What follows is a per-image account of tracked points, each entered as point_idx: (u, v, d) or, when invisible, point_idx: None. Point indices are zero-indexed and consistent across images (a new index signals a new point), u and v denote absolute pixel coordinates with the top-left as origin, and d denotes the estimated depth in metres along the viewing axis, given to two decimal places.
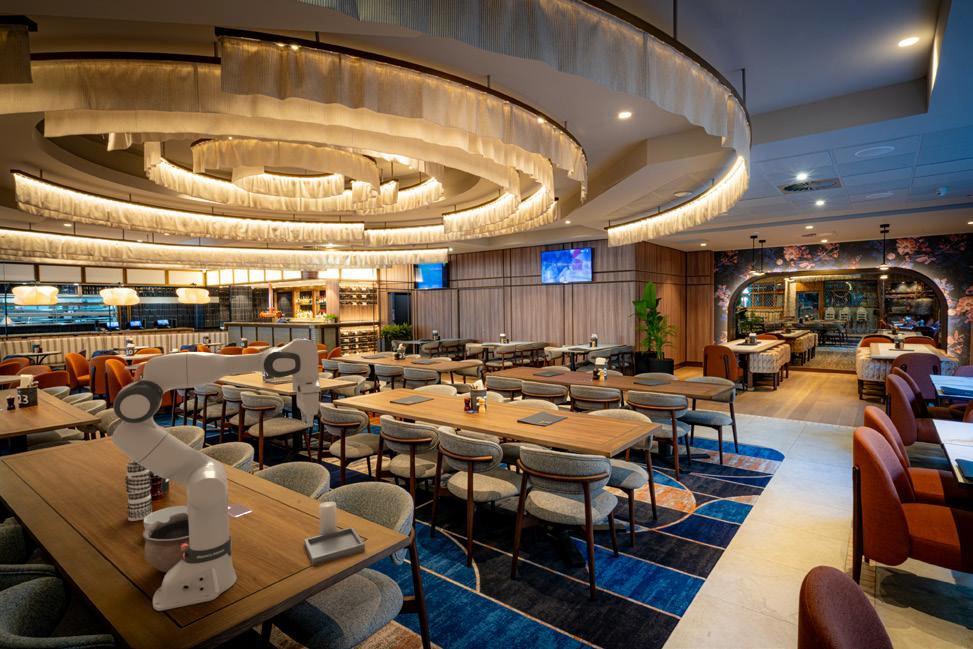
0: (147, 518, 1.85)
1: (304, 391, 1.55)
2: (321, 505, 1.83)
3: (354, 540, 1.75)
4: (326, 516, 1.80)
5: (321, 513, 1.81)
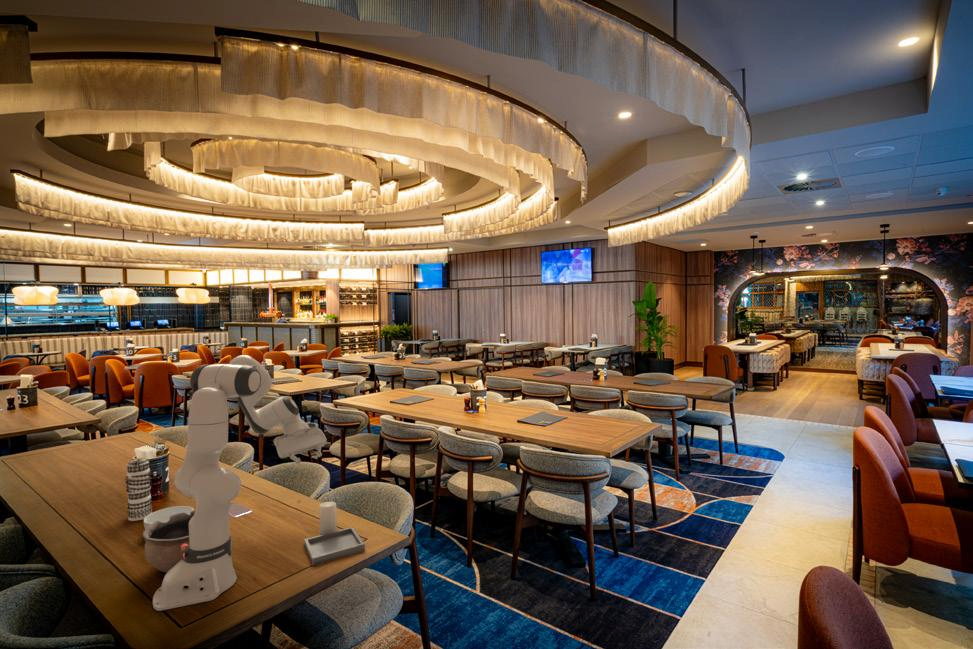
0: (147, 518, 1.85)
1: None
2: (321, 505, 1.83)
3: (354, 540, 1.75)
4: (326, 516, 1.80)
5: (321, 513, 1.81)
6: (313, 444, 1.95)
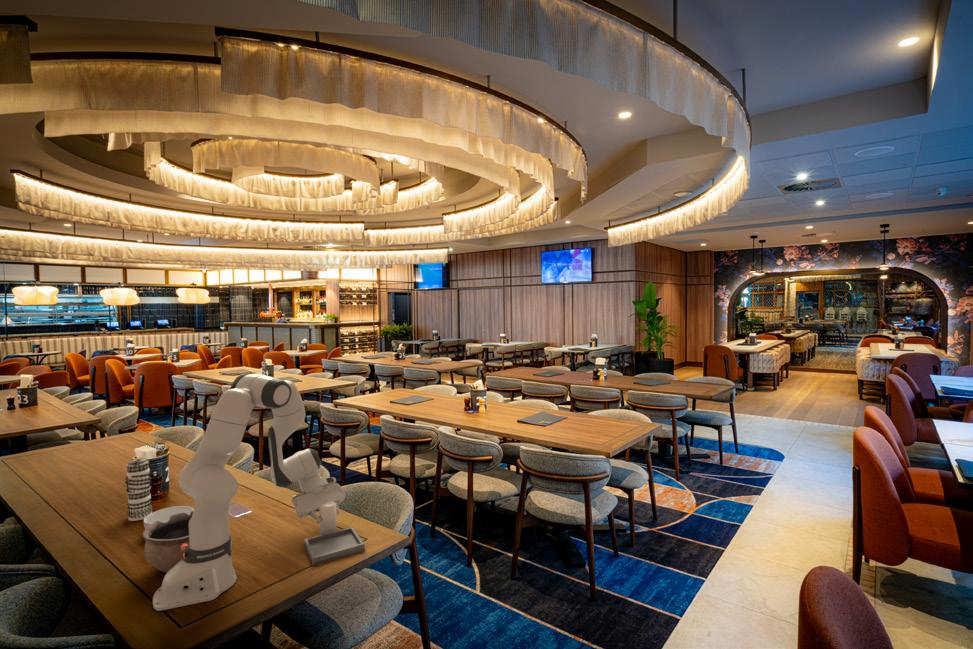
0: (147, 518, 1.85)
1: None
2: (321, 505, 1.83)
3: (354, 540, 1.75)
4: (326, 516, 1.80)
5: (321, 513, 1.81)
6: (332, 501, 1.87)
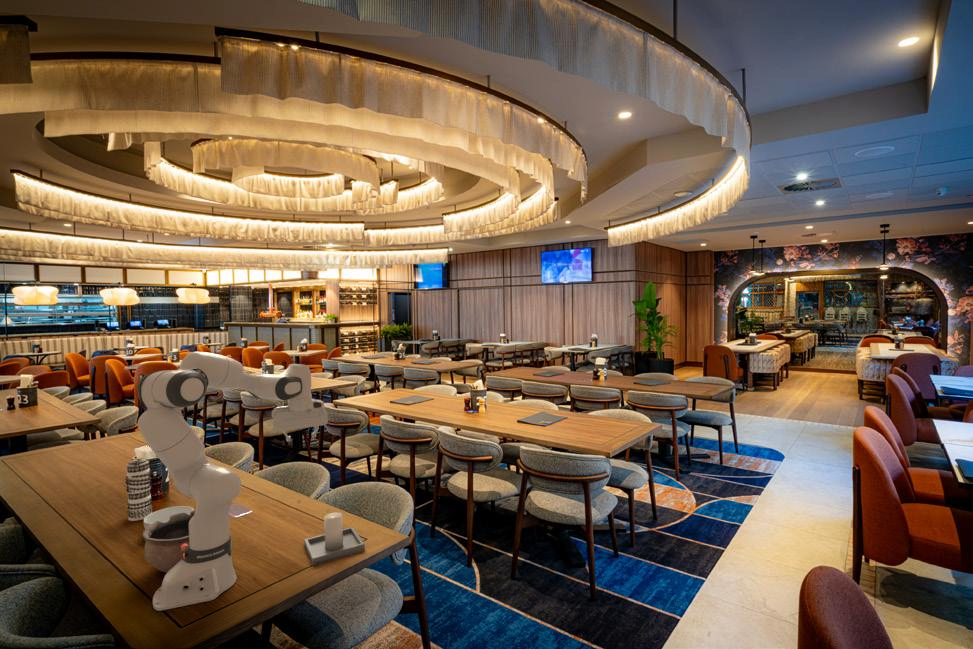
0: (147, 518, 1.85)
1: None
2: (326, 516, 1.70)
3: (354, 540, 1.75)
4: (331, 528, 1.68)
5: (326, 525, 1.68)
6: (311, 425, 1.84)
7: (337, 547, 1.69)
